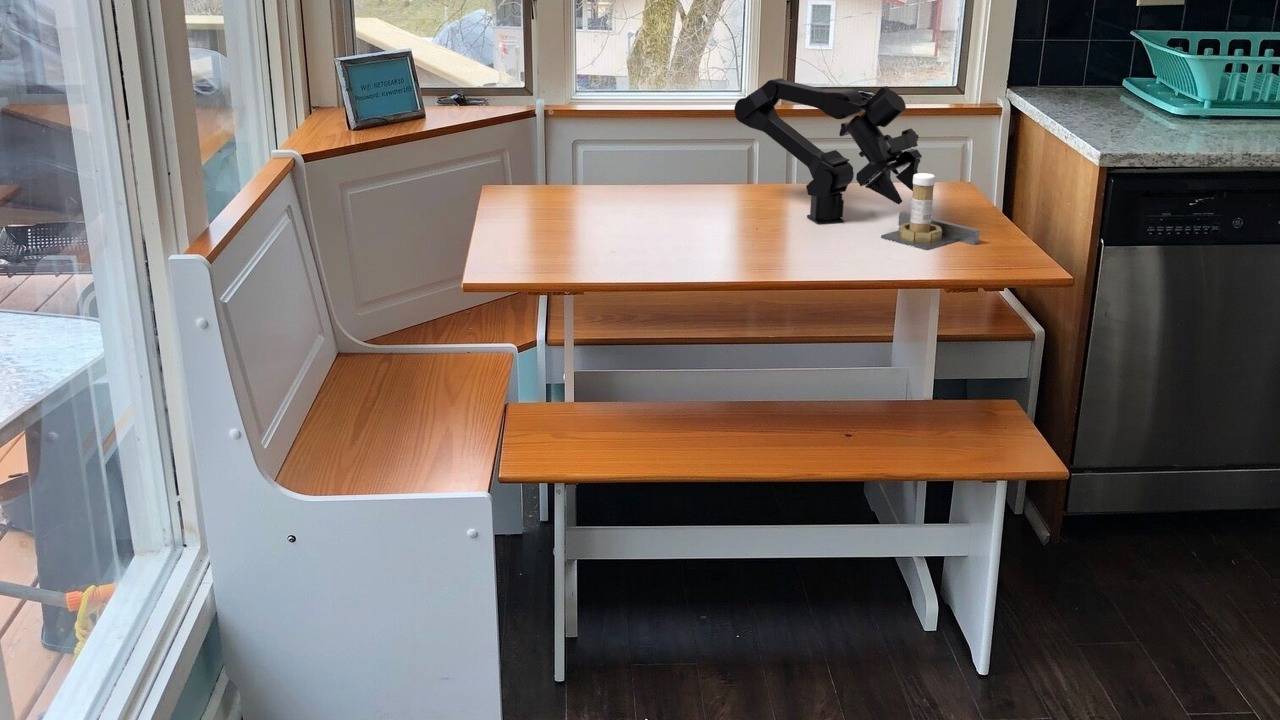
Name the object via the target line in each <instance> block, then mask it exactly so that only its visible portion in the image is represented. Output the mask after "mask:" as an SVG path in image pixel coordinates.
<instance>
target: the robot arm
mask: <svg viewBox="0 0 1280 720" xmlns="http://www.w3.org/2000/svg"><path fill="white" fill-rule="evenodd" d="M781 100H783V101H787V102H792V103H796V104H800V105H803V106H808V107H813V108H817V110H820V111H821V112H822V113H824V114H825V115H827V116H829V117H831V118H833V119H836V120H843V119H848V118H852V117H853V118H852V119H851V120H849V121H848V122H842V123H841V124H840V130H839V137H845V136H848V135H850V136H851V138H852V139H853V141H854V143H856V145H857V147H858V148H859V149H860V152H859V153H858V155H859V157H860V158H862V157H865V159H866V160H867V161H868V163H867V164H866V165H864V167H863V168H860V170H859V171H858V172H857V173H856V181H857V183H858V184H859V186H860V187H863V186H865V187H864V188H866V189H869V190H871V191H873V192H875V193H878V194H880V195H881V196H883V197H885V198H887V200H890V201H892V203H895V204H897V205H900V204H901V203H902V202H903V200H902V197H901V196H900V193H899V191H898V190H897V188H896V186H895V185H894V182H893V181H892V179H891V172H892V173H893V174H894V175H896V176H895V178H896V179H898V180H899V182H901V183H902V184H903V185H905V186H906V187H907V188H908V189H909V190H911V191H912V192H913V176H914V174H917V173H919V172H918V168H919V164H920V163H921V159H922V158H923V156H922V154H921V153H920V151H919V150H918V149H916V147H918V146H919V145H918V140H919V138H920V136H919V135H918V134H917V133H916V131H915V130H913V128H912V127H911V128H907V129H905V130H902V131H901V135H899V136H896V137H893V138H892V136H891V135H889V134H885V135H884V133H883V132H882V131H881V129H880V128H879V127H882V128H885V127H888V126H889V125H890V124H891V123H892V122H893V121H894V120H895V119H897V118H898V117H899V116H900V115H901V114H902V113H904V111H906V109H907V107H906V103H905V100H904V99H903V97H902V96H901V95H899V94H898V93H896V92H895V91H893V90H891V89H890V88H889V86H887V85H884V86H882V87H881V88H880V89H878V90H877V92H876V93H875V94H874V95H873V96H872V97H871V98H869V97H867V96H863V95H862V94H861V92H860V91H859V90H857V89H849V88H847V89H846V88H845V89H841V88H838V89H825V88H820V87H816V86H811V85H808V84H807V85H806V84H804V83H803V84H802V83H799V82H796V81H795V82H794V81H789V80H786V79H784V78H782V77H781V78H775V79H770V80H767V81H766V82H765V83H764V84H763V85H762V86H760V87H759V88H757V89H756V90H755V91H753V92H751V93H750V94H748V95H747V96H745V97H742V98H739V99H738V100H737V101H736V102H735V104H734V110H733V111H734V118H735V119H736V120H737V121H738V122H739V123H740V124H742V125H744V126H746V127H748V128H750V129H754V130H757V131H760V132H762V133H764V134H766V135H767V136H768V137H770V138H771V139H772V140H773V141H774V142H775V143H777V144H778V145H779V146H781V147H782V148H783V149H785V150H786V151H787V152H788V153H789V154H790V155H792V156H793V157H795V159H797V160H798V161H799V162H801V163H802V164H804V166H806V167H807V168H808V171H809V173H810V175H811V178H812V180H810V182H809V183H808V184H806V186H805V187H806V192H807V195H808V196H811V197H810V206H809V207H810V210H809V214H807V215H806V218H808V219H809V220H811V221H813V222H814V223H815V224H818V225H821V224H834V223H843V222H844V221H845V220H844V219H843V217H844V202H845V201H844V199H843V193H845V192H846V191H847V188H848V186H849V185H850V184H851V183H852V181H853V179H854V175H855V173H854V167H853V165H852V164H851V163H850V162H849V161H850V159H849V158H846V157H844V156H843V155H842V154H841V153H840V152H839V151H838V150H837V149H834V150H830V151H827V152H824V151H823V150H821V148H819V147H817V146H816V145H815V144H814V143H812V142H811V141H810V140H808V139H807V138H806V137H805V136H804V135H802V134H801V133H800V132H798V131H797V130H796V129H795V128H793V127H792V126H791V125H789V124H788V123H787V122H786V121H784V120H783V119H782V117H781V118H780V116H779V114H778V113H777V111H776V108H775V106H776V105H778V103H779V102H780V101H781ZM861 112H864V113H861ZM860 113H861V115H860ZM914 148H915V149H914Z"/></svg>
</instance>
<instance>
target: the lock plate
mask: <svg viewBox="0 0 1280 720" xmlns="http://www.w3.org/2000/svg"><path fill="white" fill-rule="evenodd" d="M910 213H911V212H907V211H900V212H899V213H898V225H899V226H898V225H897V226H898V230H896V231H892V232H889V233H884V234H881V236H880V238H881V239H883V238H884V239H883V240H887V239H888V241H891V240H892V241H891V242H894V241H896V243H898V242H899V243H898V244H902V245H906V246H909V245H911V247H913V246H914V247H915V248H918V249H922V250H924V251H927V250H928V251H929V250H931V249H934V248H935V249H936V248H939V247H941V246H946V245H948V244H952V243H956V242H960V243H965V244H968V245H973V246H975V245H977V244H979V240H980V229H978V228H974V227H973V228H972V227H969V226H965V225H961V224H957V223H952V222H949V221H944V220H942V219H941V220H939V219H937V218H933V217H931V222H930V231H929V232H916V231H912V230H909V228H910ZM914 247H913V248H914Z"/></svg>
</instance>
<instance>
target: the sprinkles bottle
mask: <svg viewBox="0 0 1280 720" xmlns="http://www.w3.org/2000/svg"><path fill="white" fill-rule="evenodd" d="M935 184H936V176H935V175H934V174H932V173H926V172H918V173H917V174H914V176H913V191H912V197H911V203H910V204H911V205H910V212H909V213H910V228H909V230H912V231H916V232H929V231H930V222H931V218H932V213H933V212H932V211H933V203H934V199H933V198H934V187H935Z"/></svg>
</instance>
